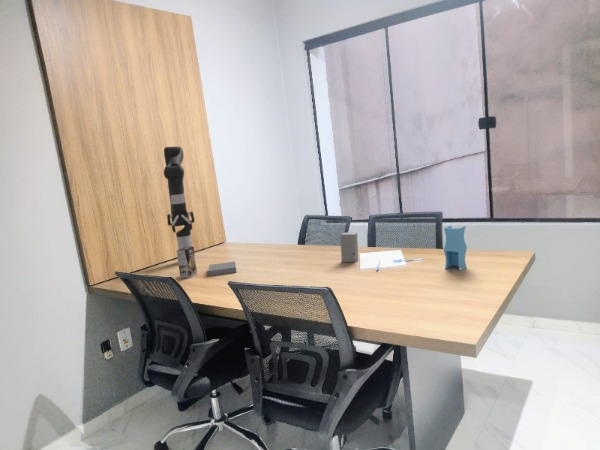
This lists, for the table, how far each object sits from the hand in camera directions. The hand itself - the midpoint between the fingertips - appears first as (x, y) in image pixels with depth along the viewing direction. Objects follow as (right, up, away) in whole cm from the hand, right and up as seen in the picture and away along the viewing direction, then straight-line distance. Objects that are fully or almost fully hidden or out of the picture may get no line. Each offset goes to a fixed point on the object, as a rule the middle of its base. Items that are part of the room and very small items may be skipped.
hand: (182, 231), depth 231 cm
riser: (+21, -23, +7) cm, 32 cm away
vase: (+141, -17, -31) cm, 145 cm away
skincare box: (+94, -17, +2) cm, 95 cm away
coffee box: (+3, -26, +4) cm, 26 cm away
